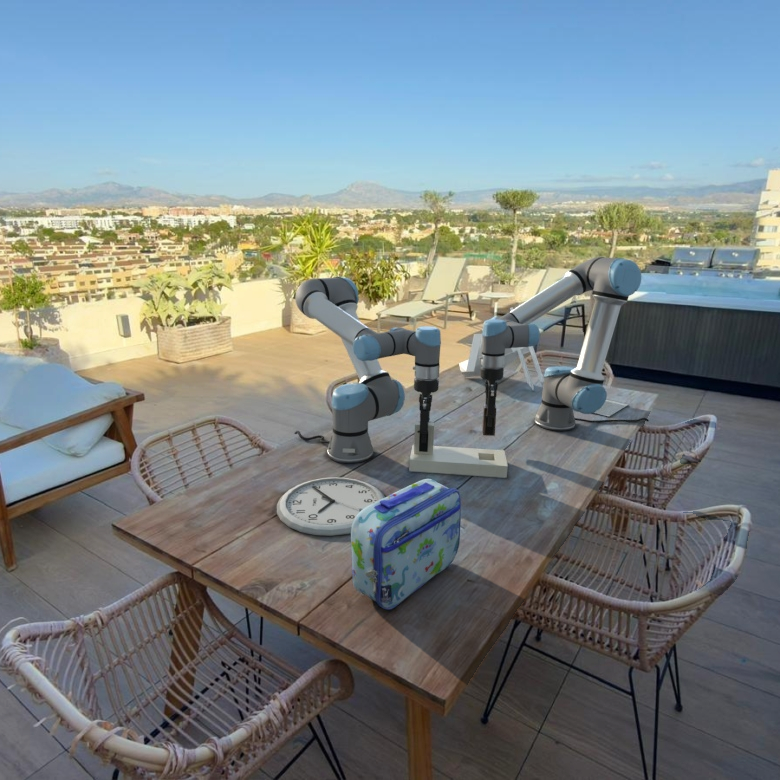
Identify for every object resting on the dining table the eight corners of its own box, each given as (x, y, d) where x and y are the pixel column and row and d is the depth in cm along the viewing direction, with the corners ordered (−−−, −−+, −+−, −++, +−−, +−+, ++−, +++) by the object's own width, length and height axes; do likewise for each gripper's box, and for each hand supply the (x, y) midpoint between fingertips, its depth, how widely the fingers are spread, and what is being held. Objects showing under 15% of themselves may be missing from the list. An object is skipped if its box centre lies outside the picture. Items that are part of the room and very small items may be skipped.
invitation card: (608, 416, 214) (573, 407, 224) (608, 416, 214) (573, 408, 224) (628, 404, 229) (594, 396, 238) (628, 405, 229) (594, 397, 238)
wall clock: (392, 527, 129) (268, 531, 127) (391, 533, 130) (269, 537, 127) (383, 473, 158) (282, 475, 155) (383, 478, 158) (282, 480, 156)
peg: (494, 431, 183) (495, 404, 180) (494, 435, 179) (496, 408, 176) (482, 431, 183) (483, 404, 180) (482, 435, 180) (484, 408, 177)
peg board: (503, 461, 172) (506, 421, 167) (506, 478, 160) (510, 435, 156) (412, 455, 175) (413, 416, 171) (409, 471, 164) (410, 429, 159)
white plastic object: (480, 419, 265) (459, 396, 241) (461, 346, 287) (441, 319, 263) (551, 395, 253) (536, 368, 228) (526, 321, 275) (510, 290, 251)
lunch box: (380, 623, 100) (381, 528, 94) (344, 596, 108) (343, 505, 101) (464, 565, 118) (470, 482, 112) (428, 545, 125) (432, 466, 119)
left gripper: (416, 369, 169) (414, 436, 176) (412, 385, 152) (409, 458, 159) (439, 370, 168) (436, 437, 175) (437, 386, 151) (434, 460, 158)
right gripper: (479, 359, 182) (476, 422, 190) (482, 373, 166) (478, 441, 173) (501, 360, 182) (497, 423, 189) (506, 373, 165) (501, 442, 173)
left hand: (423, 447), depth 167 cm, fingers open, 5 cm apart
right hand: (488, 431), depth 181 cm, fingers closed on peg, 4 cm apart
